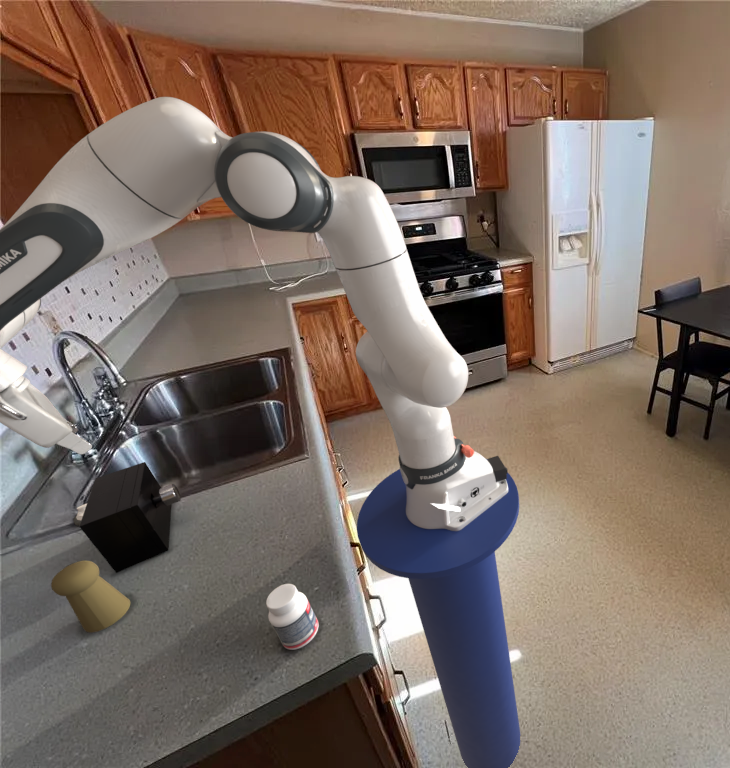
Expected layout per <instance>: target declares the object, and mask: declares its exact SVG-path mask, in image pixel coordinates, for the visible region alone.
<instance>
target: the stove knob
mask: <svg viewBox="0 0 730 768" xmlns="http://www.w3.org/2000/svg"><path fill="white" fill-rule="evenodd" d="M86 505H87V503H84V504H82V505H80V506H78V507H76V510H77V511H78V512H77V513H76V515H75V516H74V517H73V523H74V525H75V526H77V527H79V526H80V523H81V520H82V517H83V514H84V511H85V508H86Z"/></svg>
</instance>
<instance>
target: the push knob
mask: <svg viewBox="0 0 730 768" xmlns="http://www.w3.org/2000/svg"><path fill="white" fill-rule="evenodd" d="M159 494H160V495H158V496H156V497H153V498H151V499H150V500H151V501H152V503H153V504H157V503H159V502H162V501H163V503H164V504H165V505H166V506H168V505H171V504H172V505H173V504H176V503H178V502H181V499H182V497H181V493H180V491H179V489H178V487H177V485H176V484H174V483H171V484H168V485H166V486H163V487H161V488H160V489H159Z"/></svg>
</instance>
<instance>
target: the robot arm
mask: <svg viewBox="0 0 730 768" xmlns="http://www.w3.org/2000/svg"><path fill="white" fill-rule="evenodd" d="M217 198H221V200H223V202H224V204H225V205H226V206H227V207H228V208H229V210H230V211H231V212H232V213H233V214H235V215H236V217H238V218H239V219H240V220H243V221H244V222H246V223H247V224H249V225H251V226H254V227H256V228H258V229H263V230H266V231H273V232H283V233H284V232H285V233H286V232H287V233H289V232H290V233H291V232H292V233H304V234H316V233H317V234H318V236H320V238H321V239H322V241H323V243H324V245H325V246H326V248H327V251H328V253H329V255H330V259H331V261H332V263H333V266H334V268H335V271H336V273H337V276H338V278H339V281H340V283H341V286H342V288H343V290H344V293H345V295H346V298H347V301H348V303H349V305H350V308H351V310H352V312H353V314H354V316H355V318H356V319H357V320H358V321H359V323H361V325H362V326H363V327H364V328H365V330H366V332H365V333H363V335H362V336H361V337H360V338H359V340H358V342H357V345H356V348H355V357H356V361H357V363H358V365H359V367H360V369H361V370H362V371H363V373H364V374H365V375H366V377H367V378H368V381H369V383H370V385H371V387H372V389H373V391H374V393H375V396H376V397H377V399H378V401H379V404H380V405H381V408H382V409H383V411H384V414H385V415H386V418H387V420H388V422H389V423H390V426H391V430H392V433H393V437H394V440H395V443H396V447H397V451H398V457H397V458H398V464H399V469H400V471H401V475H402V478H403V481H404V483H405V484H406V493H407V503H406V515H407V518H408V519H409V521H410V522H411V523H413V524H414V525H416V526H418V527H421V528H425V529H447V530H451V531H459V530H461V529H463V528H464V527H465V526H466V525H468V524H469V523H470V522H471V521H473V520H474V519H475V518H477V517H478V516H479V515H480V514H482V513H483V512H484V511H485V510H487V509H488V508H489V507H491V506H492V505H493V504H494V503H496V502H497V501H498V500H499V499H501V498H502V497H503V496H504V495H506V494H507V493H508V485H507V481H506V479H507V472H508V468H507V467H506V466H505V464H504V462H503V461H502V460H501V458H500V456H499V455H495V456H492V457H489V458H486V457H485V456H483V455H482V454H481V453H479V452H478V451H475V450H474V449H473V448H472V447H471V446H470V445H469V444H464V442H463V441H462V440H461V439H460V438H458V437H456V436H455V435H454V430H453V424H452V418H451V414H450V412H449V409H448V408H447V407H450V406H451V405H453V404H455V403H456V402H457V401H458V400H459V399H461V397H462V395H463V394H464V392H465V391H466V388H467V385H468V382H469V367H468V365H467V361H466V360H465V359H464V357H462V356H461V354H460V353H458V352H457V350H456V349H455V348H454V347H453V346H452V344H451V343H450V342H449V341H448V339H447V338H446V336H445V333H443V331H442V329H441V328H440V325H438V322H437V321H436V319H435V318H434V315H433V313H432V311H431V310H430V308H429V306H428V305H427V303H426V300H425V299H424V297H423V294H422V291H421V289H420V286H419V282H418V280H417V277H416V273H415V270H414V267H413V264H412V261H411V258H410V254H409V252H408V249H407V244H406V241H405V239H404V236H403V233H402V230H401V227H400V225H399V223H398V220H397V218H396V216H395V213H394V211H393V209H392V207H391V205H390V203H389V201H388V199H387V197H386V195H385V193H384V192H383V190H382V189H381V187H380V186H379V185H378V184H377V183H376V182H374V181H373V180H371V179H369V178H366V177H362V176H357V175H345V176H341V177H340V176H339V177H332V176H329V175H327V174H326V173H324V172H323V171H322V170H321V167H320V165H319V163H318V161H317V160H316V158H315V157H314V156H313V154H312V153H311V152H310V151H309V150H307V148H305V147H304V146H303V145H302V144H300V143H298V142H296V141H295V140H293V139H291V138H289V137H288V136H285V135H283V134H280V133H277V132H272V131H265V130H264V131H251V132H244V133H240V134H237V135H236V136H233V137H232V136H229V135H228V134H226V133H225V132H223V130H221V129H220V128H219V127H218V125H217V124H215V123H214V121H213V120H212V119H211V118H210V117H208V116H207V115H206V114H205V113H204V112H202V111H201V110H200V109H198V108H197V107H196V106H194V105H192V104H191V103H188V102H186V101H184V100H182V99H179V98H177V97H172V96H159V97H156V98H153V99H150V100H148V101H145V102H142V103H140V104H137V105H135V106H134V107H131V108H129V109H127V110H125V111H123V112H121V113H119V114H117V115H115V116H114V117H111V118H110V119H109V120H107V121H105V122H104V123H102V124H101V125H99V126H98V127H96V128H95V129H94V130H92V131H90V133H88V134H86V135H85V136H84V137H83V138H81V139H80V140H78V142H76V143H75V144H74V146H72V147H71V148H70V149H69V150H68V151H67V152H66V153H65V154H64V155H63V156H62V157H61V158H60V159H59V160H58V161H57V163H56V164H55V165H53V167H52V168H51V169H50V170H49V172H48V173H47V174H46V176H45V177H44V178H43V179H42V180H41V181H40V183H39V184H38V185H37V187H36V188H35V189H34V190H33V192H32V193H31V194H30V195H29V196H28V198H27V199H26V200H25V201H24V202H23V203H22V204H21V205H20V207H19V208H18V209H17V210H16V211H15V213H14V214H13V215H12V216H11V217H10V218H9V219H8V220H7V221H6V222H5V224H3V225H2V227H1V228H0V424H2V425H3V426H5V427H7V428H8V429H10V430H12V431H13V432H15V433H16V434H18V435H20V436H22V437H23V438H25V439H27V440H28V441H30V442H32V443H33V444H35V445H37V446H40V447H42V448H45V449H50V448H52V447H53V446H55V445H57V446H60V447H63V448H66V449H67V450H71V451H72V452H74V453H76V454H78V455H85V454H86V453H87V452H88V451H90V450H91V449H92V448H93V445H92V443H90V442H89V441H88V440H87V439H85V438H83V437H81V436H79V435H77V434H76V433H78V431H79V429H78V427H77V426H76V425H75V424H73V423H72V422H70V421H68V420H67V419H66V418H65V417H64V416H63V415H62V414H61V413H60V412H59V410H58V409H57V408H56V407H55V406H54V404H53V403H52V402H51V401H50V399H49V398H48V397H47V396H46V395H45V394H44V393H43V392H42V391H41V390H40V389H38V388H37V387H36V386H34V385H33V384H32V383H31V380H30V378H29V379H28V378H27V377H25V376H24V374H25V373H26V371H28V366H27V364H24V363H23V362H21V361H20V360H18V359H17V358H16V357H14V356H12V355H11V354H9V353H8V352H6V351H5V350H3V347H4V346H6V345H7V344H8V343H9V342H10V341H11V340H12V339H13V338H14V337H15V336H16V335H17V334H18V333H20V332H21V331H22V330H23V329H24V328H25V327H26V326H27V325H28V324H29V323H30V322H31V321H32V320H34V318H35V317H36V315H37V314H38V312H39V311H40V308H41V306H42V298H43V297H45V296H46V295H47V294H48V293H50V292H51V291H53V290H54V289H55V288H56V287H58V286H59V285H61V284H62V283H63V282H65V281H67V280H68V279H70V278H71V277H74V276H75V275H77V274H79V273H80V272H83V271H85V270H86V269H88V268H91V267H92V266H95V265H97V264H99V263H101V262H103V261H105V260H108V259H109V258H112V257H114V256H116V255H118V254H120V253H123V252H124V251H127V250H129V249H132V248H133V247H135V246H138V245H139V244H142V243H144V242H146V241H149V240H150V239H153V238H154V237H156V236H158V235H160V234H161V233H163V232H165V231H166V230H168V229H170V228H171V227H173V226H175V225H176V224H178V223H179V222H180V221H182V220H183V219H185V218H186V217H187V216H188V215H190V214H191V213H192V212H194V211H195V210H196V209H198V208H199V207H201V206H202V205H203V204H205V203H207V202H209V201H211V200H214V199H217ZM485 458H486V459H488V461H487V460H486V459H485ZM508 473H509V472H508ZM502 483H503V484H502ZM461 521H462V522H461Z"/></svg>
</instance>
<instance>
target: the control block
mask: <svg viewBox="0 0 730 768" xmlns="http://www.w3.org/2000/svg"><path fill="white" fill-rule="evenodd" d="M160 488H162V487H161V485H160V483H159V482H158V480H157V478H156V477H155V476H154V474H153V472H152V470H151V468H150V467H149V466H148V464H147V462H146V461H143V462H140V463H138V464H134V465H132V466H128V467H125V468H123V469H119V470H116V471H113V472H110V473H107V474H104V475H102V476H99V477H96V478H95V479H94V482H93V485H92V488H91V490H90V494H89V497H88V500H87V503H86V504H87V505H86V508H85V511H84V514H83V517H82V520H81V523H80V526H78V527H79V528H80V530H81V531H82V532H83V534H84V535H85V536H86V537H87V539H89V541H90V542H91V543H92V545H93V546H94V547H95V548H96V550H97V551H98V553H100V555H101V556H102V557H103V559H104V560H105V561H106V562H107V563H108V565H109V566H110V567H111V569H112V570H113V571H114V572H115V574H117V573H119V572H122V571H124V570H126V569H130V568H132V567H133V566H136V565H138V564H140V563H143V562H145V561H148V560H149V559H153V558H156V557H158V556H160V555H162V554H164V553H166V552H168V551H169V550H170V548H169V547H170V534H171V521H172V520H171V519H172V505H173V504H171V505H168V506H166V505H165V504H164V503H163V501H162V502H159V503H157V504H153V503H152V501H151V500H150V499H151V498H153V497H156V496H158V495H160V494H159V489H160Z"/></svg>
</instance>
